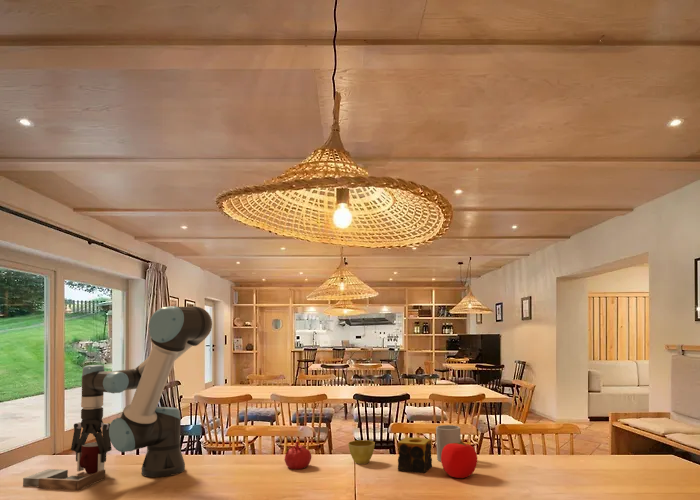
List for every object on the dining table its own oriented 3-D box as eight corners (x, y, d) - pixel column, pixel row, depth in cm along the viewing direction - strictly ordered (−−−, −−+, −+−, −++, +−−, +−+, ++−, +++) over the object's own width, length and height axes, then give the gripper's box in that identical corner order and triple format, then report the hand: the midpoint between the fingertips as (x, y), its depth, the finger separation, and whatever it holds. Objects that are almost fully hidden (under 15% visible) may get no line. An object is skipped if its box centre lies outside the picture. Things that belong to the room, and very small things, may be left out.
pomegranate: (316, 466, 221) (316, 440, 222) (300, 472, 212) (300, 445, 213) (295, 462, 226) (295, 437, 227) (278, 468, 218) (279, 442, 219)
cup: (434, 457, 229) (433, 425, 230) (457, 456, 230) (456, 424, 231) (440, 463, 220) (439, 430, 221) (464, 462, 221) (463, 429, 222)
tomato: (436, 479, 198) (435, 444, 200) (445, 469, 211) (444, 436, 212) (473, 483, 194) (472, 446, 195) (480, 472, 207) (479, 438, 208)
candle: (397, 471, 210) (396, 442, 211) (405, 464, 220) (404, 436, 221) (425, 473, 207) (424, 444, 208) (432, 466, 216) (431, 438, 217)
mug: (92, 477, 211) (93, 448, 212) (71, 476, 212) (72, 448, 213) (108, 469, 221) (109, 442, 223) (88, 469, 223) (89, 441, 224)
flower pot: (375, 465, 219) (375, 445, 220) (348, 466, 219) (347, 446, 220) (374, 459, 229) (374, 439, 230) (348, 459, 229) (348, 440, 230)
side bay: (106, 478, 210) (106, 469, 210) (78, 490, 196) (78, 480, 196) (50, 475, 215) (50, 466, 215) (19, 486, 201) (19, 477, 201)
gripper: (123, 406, 221) (121, 469, 218) (74, 405, 225) (73, 467, 223) (110, 409, 213) (109, 475, 211) (61, 408, 218) (59, 472, 216)
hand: (90, 471), depth 217 cm, fingers closed on mug, 8 cm apart
